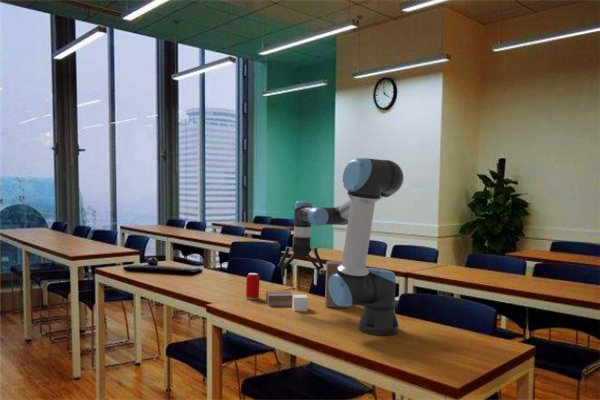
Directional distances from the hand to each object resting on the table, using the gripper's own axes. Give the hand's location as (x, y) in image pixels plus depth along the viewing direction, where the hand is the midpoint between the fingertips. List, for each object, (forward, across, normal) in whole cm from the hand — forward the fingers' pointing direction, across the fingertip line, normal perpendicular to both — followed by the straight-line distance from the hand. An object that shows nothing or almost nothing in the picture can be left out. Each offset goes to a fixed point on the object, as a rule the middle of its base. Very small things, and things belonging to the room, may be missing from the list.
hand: (300, 284), depth 202 cm
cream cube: (+11, 0, 0) cm, 11 cm away
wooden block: (+11, -18, -6) cm, 22 cm away
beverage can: (+12, +20, -20) cm, 31 cm away
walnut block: (+12, +8, -12) cm, 18 cm away
